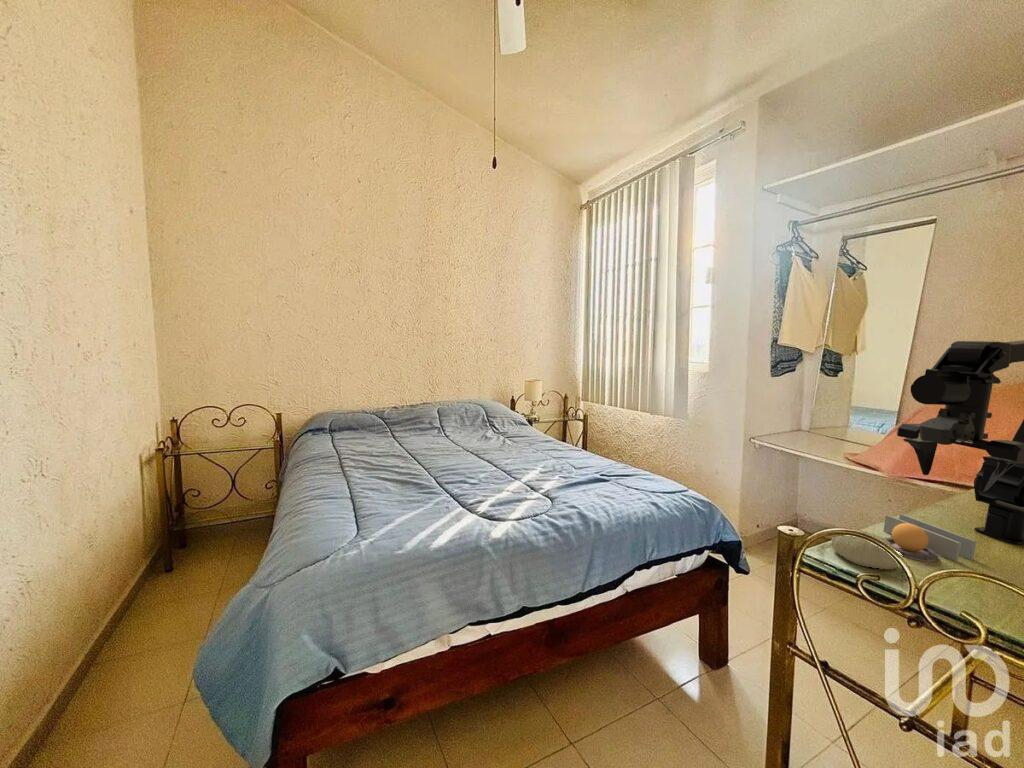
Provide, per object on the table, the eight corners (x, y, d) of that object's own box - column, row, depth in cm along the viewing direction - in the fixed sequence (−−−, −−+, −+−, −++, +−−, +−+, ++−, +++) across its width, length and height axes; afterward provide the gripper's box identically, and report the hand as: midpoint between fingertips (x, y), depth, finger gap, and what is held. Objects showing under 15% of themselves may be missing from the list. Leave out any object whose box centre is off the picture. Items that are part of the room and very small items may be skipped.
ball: (902, 542, 82) (905, 518, 82) (933, 555, 77) (937, 529, 77) (883, 544, 81) (886, 519, 80) (913, 557, 76) (917, 531, 76)
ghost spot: (900, 539, 84) (900, 536, 84) (947, 559, 76) (947, 555, 76) (871, 542, 82) (871, 538, 82) (916, 563, 75) (917, 559, 74)
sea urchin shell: (847, 532, 82) (885, 516, 76) (875, 574, 77) (919, 561, 71) (815, 538, 78) (853, 522, 73) (844, 582, 74) (886, 570, 68)
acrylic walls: (899, 529, 89) (902, 513, 88) (973, 559, 77) (976, 541, 77) (883, 531, 88) (885, 515, 87) (955, 561, 76) (958, 543, 76)
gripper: (883, 397, 89) (872, 468, 91) (1003, 414, 71) (987, 503, 73) (921, 398, 91) (910, 467, 93) (1047, 414, 73) (1030, 500, 75)
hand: (952, 482), depth 83 cm, fingers open, 9 cm apart
